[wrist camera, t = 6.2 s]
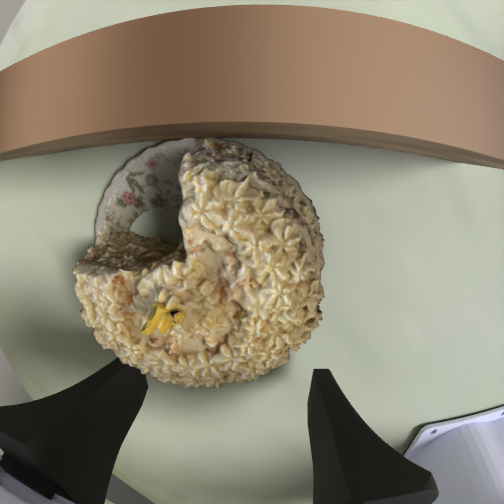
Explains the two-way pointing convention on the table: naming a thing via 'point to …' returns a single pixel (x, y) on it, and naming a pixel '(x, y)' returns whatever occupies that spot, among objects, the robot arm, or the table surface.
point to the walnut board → (258, 85)
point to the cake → (204, 265)
